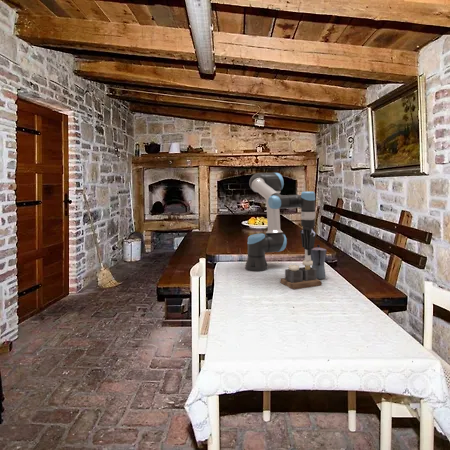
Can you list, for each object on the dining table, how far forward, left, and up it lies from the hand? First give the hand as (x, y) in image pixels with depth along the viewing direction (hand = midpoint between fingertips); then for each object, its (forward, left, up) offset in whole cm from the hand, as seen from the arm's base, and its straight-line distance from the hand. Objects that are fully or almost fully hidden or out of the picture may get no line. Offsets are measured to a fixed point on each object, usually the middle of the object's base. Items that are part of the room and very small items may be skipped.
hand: (307, 260), depth 192 cm
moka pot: (-7, +13, -13) cm, 20 cm away
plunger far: (0, 0, -8) cm, 8 cm away
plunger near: (0, -9, -10) cm, 14 cm away
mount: (0, -4, -13) cm, 14 cm away
